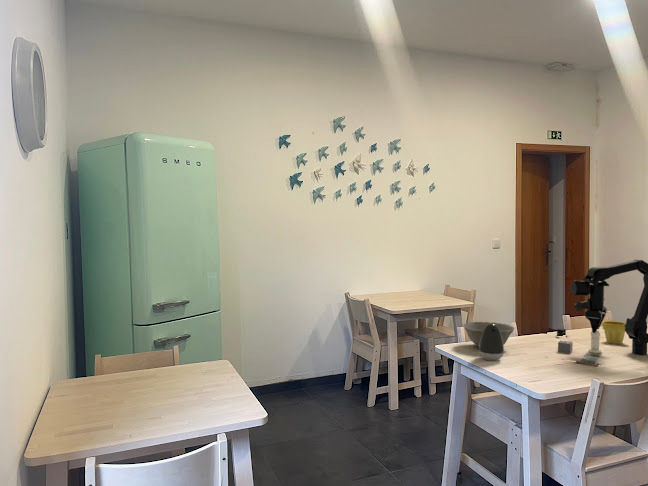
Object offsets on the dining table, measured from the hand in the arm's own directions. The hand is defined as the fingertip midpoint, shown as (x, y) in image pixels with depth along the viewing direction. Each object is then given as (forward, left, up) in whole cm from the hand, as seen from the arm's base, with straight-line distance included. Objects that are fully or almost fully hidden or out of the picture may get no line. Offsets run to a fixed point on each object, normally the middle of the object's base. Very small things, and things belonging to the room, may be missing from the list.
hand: (595, 331), depth 222 cm
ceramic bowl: (+17, -42, -11) cm, 47 cm away
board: (+9, 0, -10) cm, 14 cm away
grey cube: (+6, -11, -10) cm, 16 cm away
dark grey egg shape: (+37, -34, -10) cm, 51 cm away
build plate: (-29, -19, -11) cm, 37 cm away
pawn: (0, 0, -10) cm, 10 cm away
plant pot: (-31, +4, -10) cm, 33 cm away
